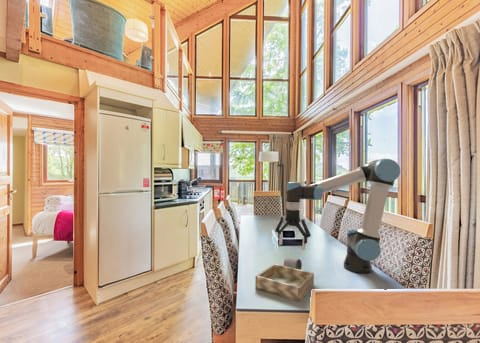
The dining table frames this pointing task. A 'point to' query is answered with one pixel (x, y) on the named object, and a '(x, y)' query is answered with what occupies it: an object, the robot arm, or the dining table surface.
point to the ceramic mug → (293, 263)
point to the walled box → (285, 282)
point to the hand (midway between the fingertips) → (292, 246)
